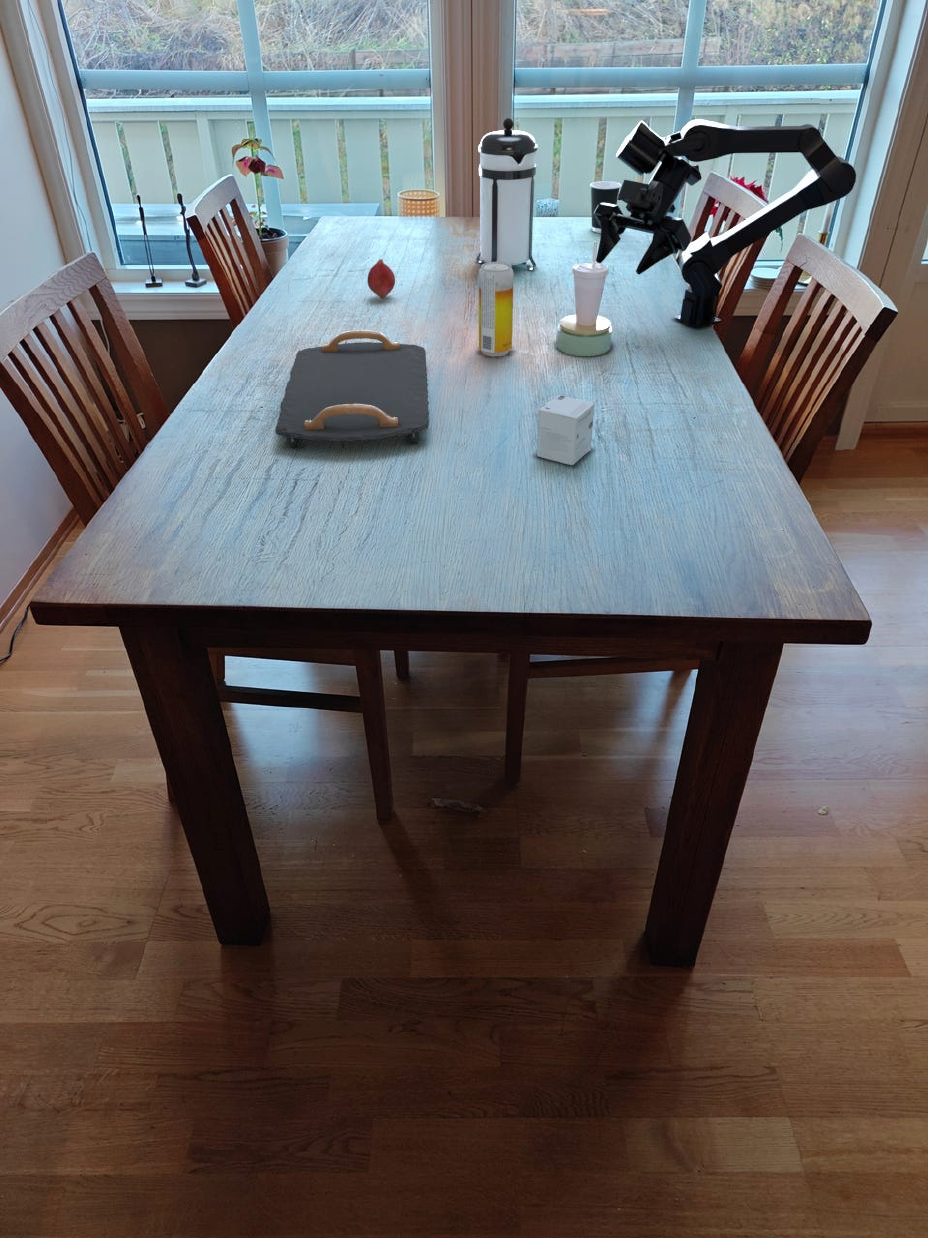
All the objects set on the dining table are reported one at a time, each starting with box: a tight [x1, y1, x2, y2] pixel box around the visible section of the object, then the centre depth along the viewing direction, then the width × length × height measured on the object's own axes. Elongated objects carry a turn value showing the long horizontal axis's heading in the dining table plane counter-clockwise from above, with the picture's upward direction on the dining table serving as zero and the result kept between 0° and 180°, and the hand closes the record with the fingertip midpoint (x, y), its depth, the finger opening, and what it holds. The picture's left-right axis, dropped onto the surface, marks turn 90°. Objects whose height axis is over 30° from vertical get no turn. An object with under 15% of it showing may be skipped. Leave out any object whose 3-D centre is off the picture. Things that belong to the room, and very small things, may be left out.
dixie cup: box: [589, 180, 622, 234], centre depth 217 cm, size 8×8×11 cm
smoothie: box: [571, 240, 609, 326], centre depth 148 cm, size 6×6×14 cm
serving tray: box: [275, 329, 430, 449], centre depth 135 cm, size 39×23×6 cm, turn 3°
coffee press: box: [475, 117, 539, 271], centre depth 188 cm, size 17×16×30 cm
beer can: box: [478, 262, 515, 357], centre depth 149 cm, size 6×6×15 cm
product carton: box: [536, 394, 595, 466], centre depth 120 cm, size 6×6×7 cm
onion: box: [367, 258, 396, 299], centre depth 176 cm, size 6×6×8 cm
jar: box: [555, 314, 613, 357], centre depth 154 cm, size 10×10×4 cm
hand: (617, 267), depth 151 cm, fingers open, 9 cm apart
